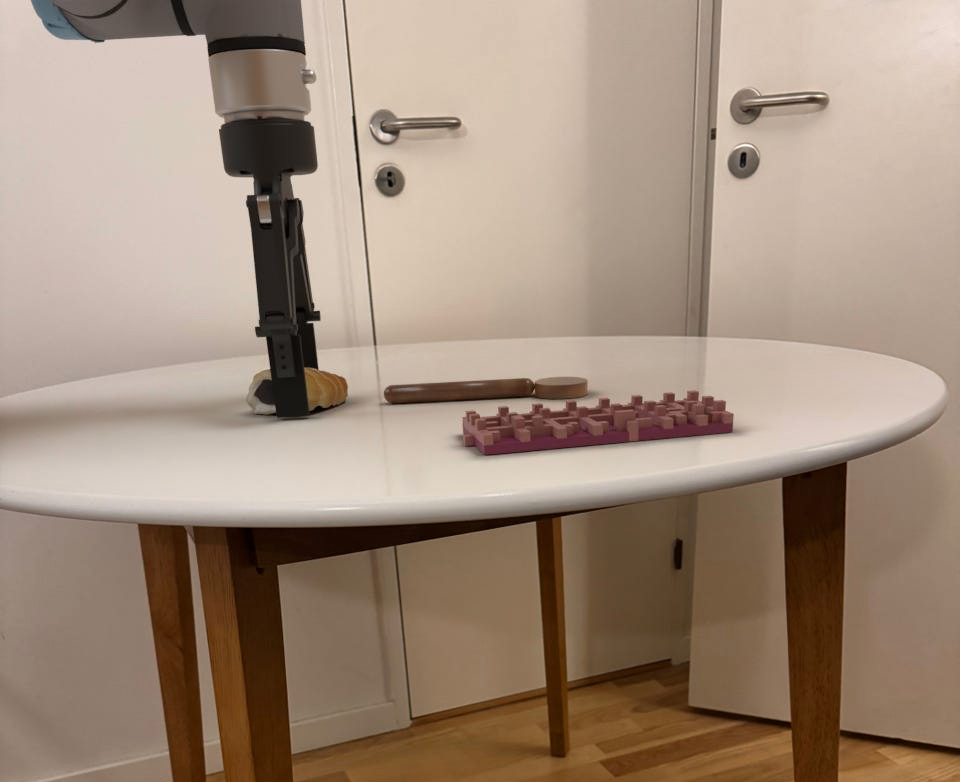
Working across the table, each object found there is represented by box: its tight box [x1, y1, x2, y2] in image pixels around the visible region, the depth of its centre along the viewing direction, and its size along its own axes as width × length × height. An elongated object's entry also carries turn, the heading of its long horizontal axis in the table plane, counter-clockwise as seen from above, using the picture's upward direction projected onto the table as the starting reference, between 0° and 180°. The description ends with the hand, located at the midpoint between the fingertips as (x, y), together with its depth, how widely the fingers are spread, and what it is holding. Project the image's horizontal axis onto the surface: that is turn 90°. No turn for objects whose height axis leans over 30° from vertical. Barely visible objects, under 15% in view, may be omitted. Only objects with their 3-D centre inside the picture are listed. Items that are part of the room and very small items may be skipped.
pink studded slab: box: [461, 390, 735, 456], centre depth 68 cm, size 7×19×2 cm, turn 103°
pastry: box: [245, 367, 349, 416], centre depth 83 cm, size 9×7×4 cm
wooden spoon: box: [383, 376, 589, 404], centre depth 84 cm, size 18×5×2 cm, turn 93°
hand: (300, 405), depth 84 cm, fingers closed on pastry, 9 cm apart
